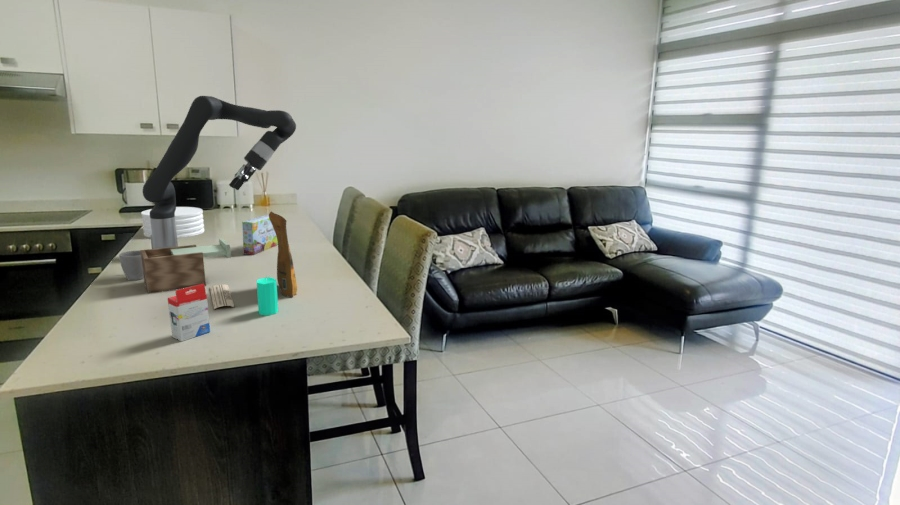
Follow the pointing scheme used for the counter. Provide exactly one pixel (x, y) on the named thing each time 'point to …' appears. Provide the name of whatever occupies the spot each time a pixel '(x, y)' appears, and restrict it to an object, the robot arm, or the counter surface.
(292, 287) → the pancake mix bag
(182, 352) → the counter surface
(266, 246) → the snack box
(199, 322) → the ink box
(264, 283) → the candle
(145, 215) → the plate stack
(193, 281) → the box
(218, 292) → the newspaper
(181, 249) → the lid
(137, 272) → the mug
